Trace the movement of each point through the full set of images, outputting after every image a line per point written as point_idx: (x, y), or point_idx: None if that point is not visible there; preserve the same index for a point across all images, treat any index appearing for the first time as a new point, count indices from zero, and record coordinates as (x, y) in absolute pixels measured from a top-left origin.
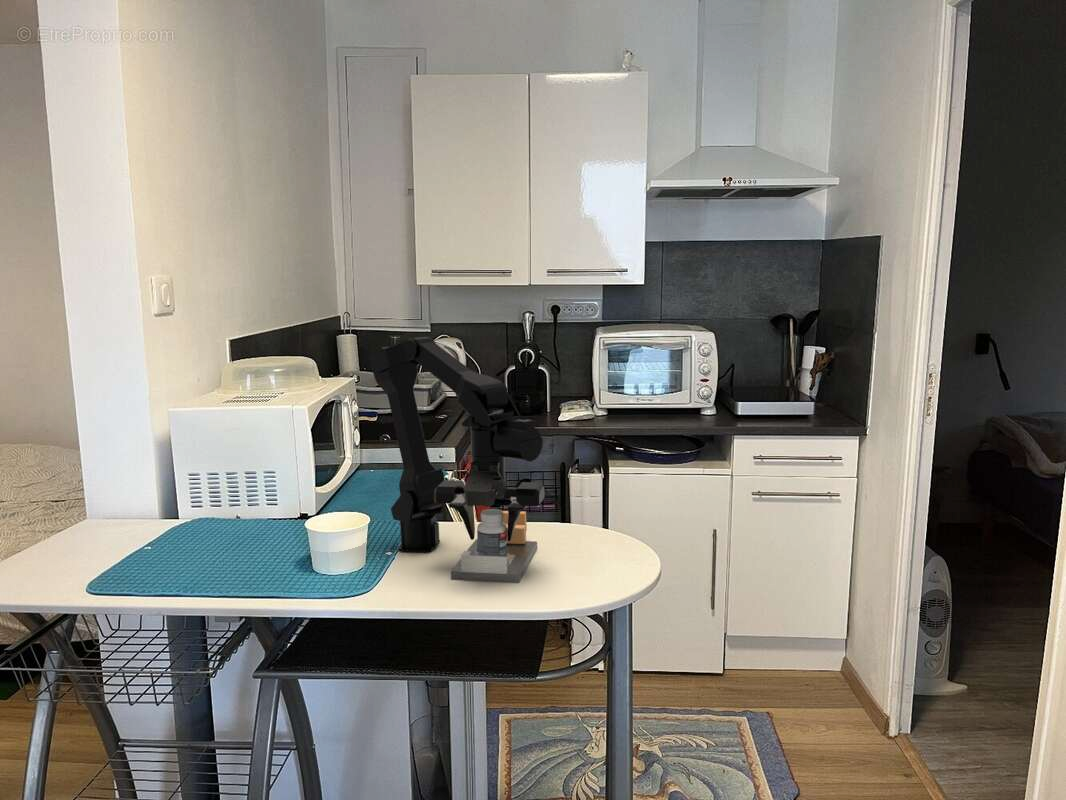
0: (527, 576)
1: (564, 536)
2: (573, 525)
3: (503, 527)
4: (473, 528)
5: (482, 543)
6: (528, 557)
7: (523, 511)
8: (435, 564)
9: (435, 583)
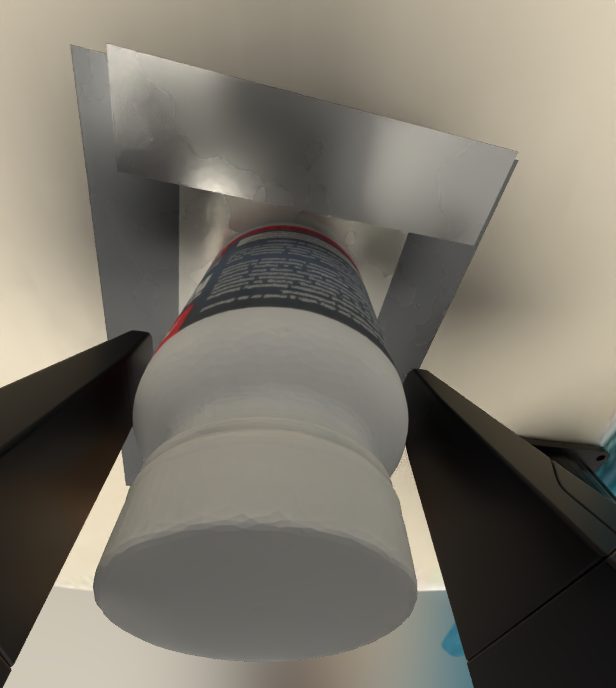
0: (82, 173)
1: (78, 536)
2: (81, 586)
3: (141, 405)
4: (425, 444)
5: (347, 285)
6: None
7: None
8: (514, 347)
9: (582, 102)
